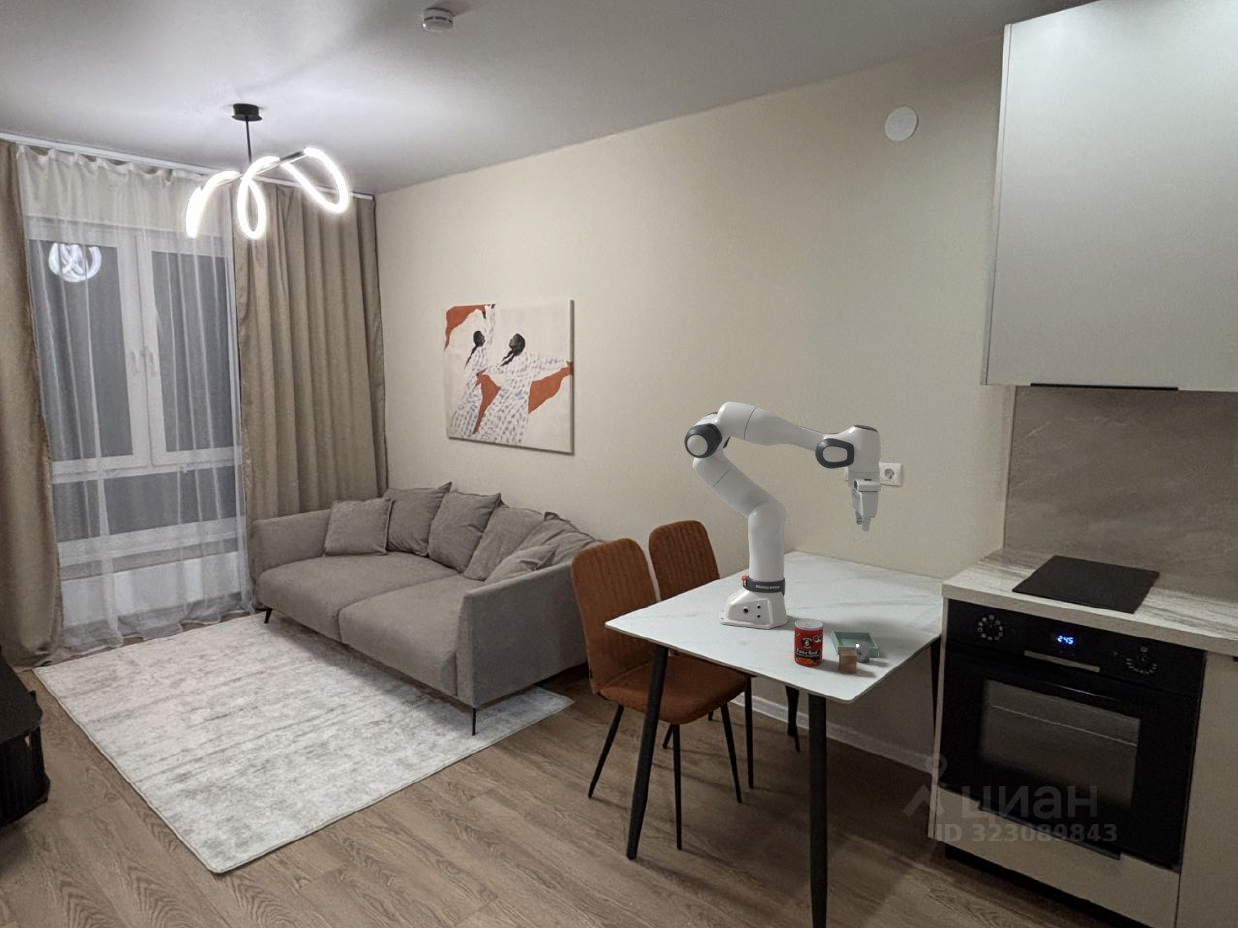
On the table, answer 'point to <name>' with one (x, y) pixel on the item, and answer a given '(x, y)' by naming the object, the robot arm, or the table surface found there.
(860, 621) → the table surface
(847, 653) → the walnut block
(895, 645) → the table surface
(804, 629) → the canned food
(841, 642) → the tray
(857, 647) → the metal peg
